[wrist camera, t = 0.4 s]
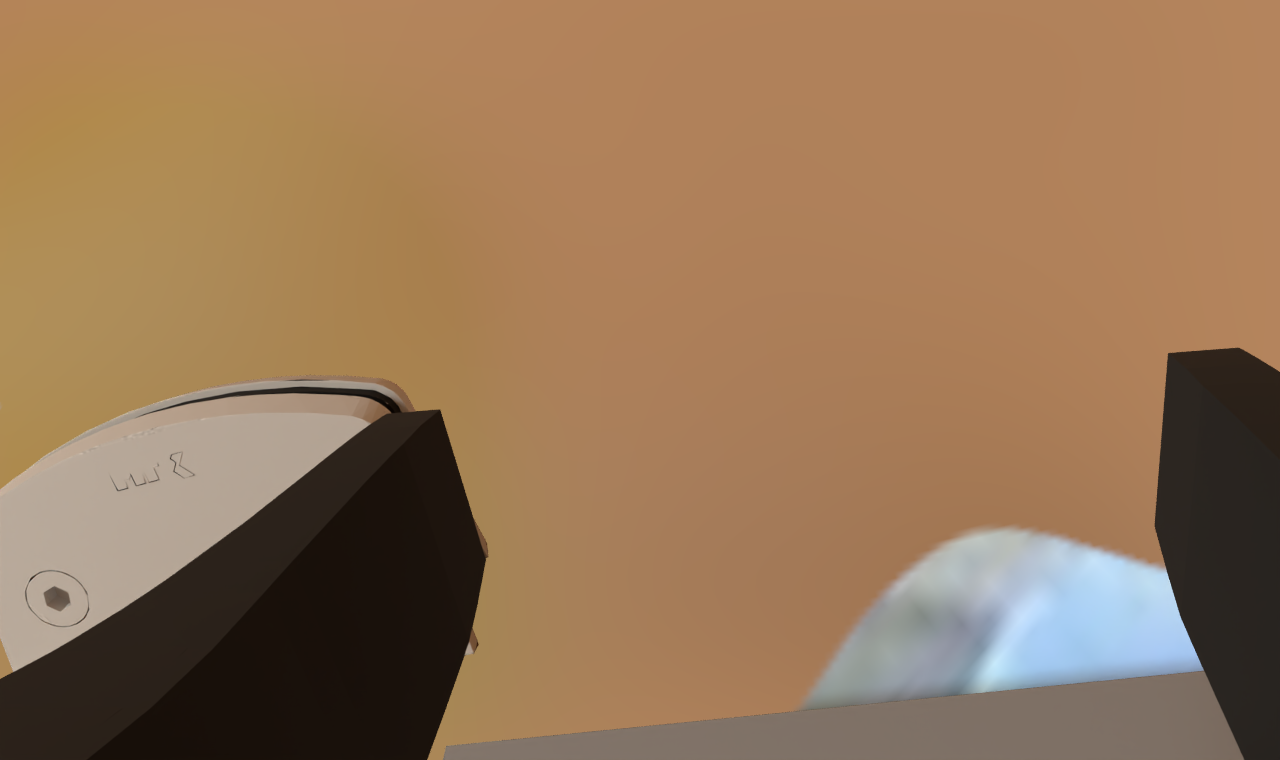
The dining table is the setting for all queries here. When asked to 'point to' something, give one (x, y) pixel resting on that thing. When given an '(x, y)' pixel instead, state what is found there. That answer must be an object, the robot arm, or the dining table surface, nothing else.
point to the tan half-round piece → (162, 495)
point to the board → (930, 729)
